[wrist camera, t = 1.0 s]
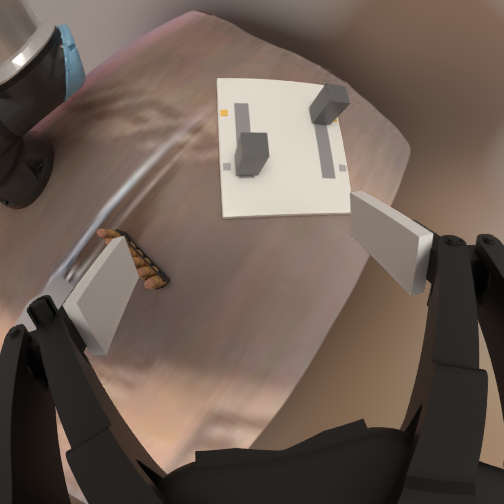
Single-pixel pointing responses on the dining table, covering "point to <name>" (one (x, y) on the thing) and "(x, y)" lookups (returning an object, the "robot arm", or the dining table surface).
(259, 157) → the block
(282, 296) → the dining table surface
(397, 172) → the dining table surface
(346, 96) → the block
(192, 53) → the dining table surface
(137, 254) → the ammunition clip
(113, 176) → the dining table surface
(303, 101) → the switch panel
